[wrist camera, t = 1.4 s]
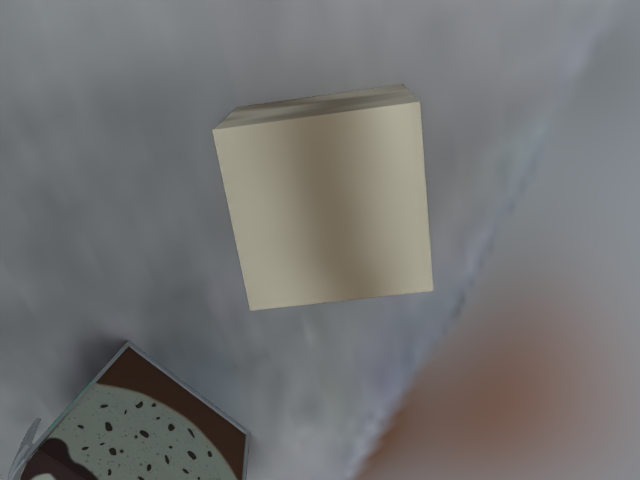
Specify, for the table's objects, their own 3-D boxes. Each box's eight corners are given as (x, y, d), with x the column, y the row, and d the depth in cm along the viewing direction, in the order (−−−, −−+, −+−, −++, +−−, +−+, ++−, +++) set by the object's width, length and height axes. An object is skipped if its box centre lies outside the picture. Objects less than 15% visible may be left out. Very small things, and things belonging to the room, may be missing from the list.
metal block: (266, 256, 30) (250, 310, 24) (238, 106, 27) (212, 129, 22) (415, 238, 29) (433, 290, 24) (402, 83, 27) (420, 101, 21)
